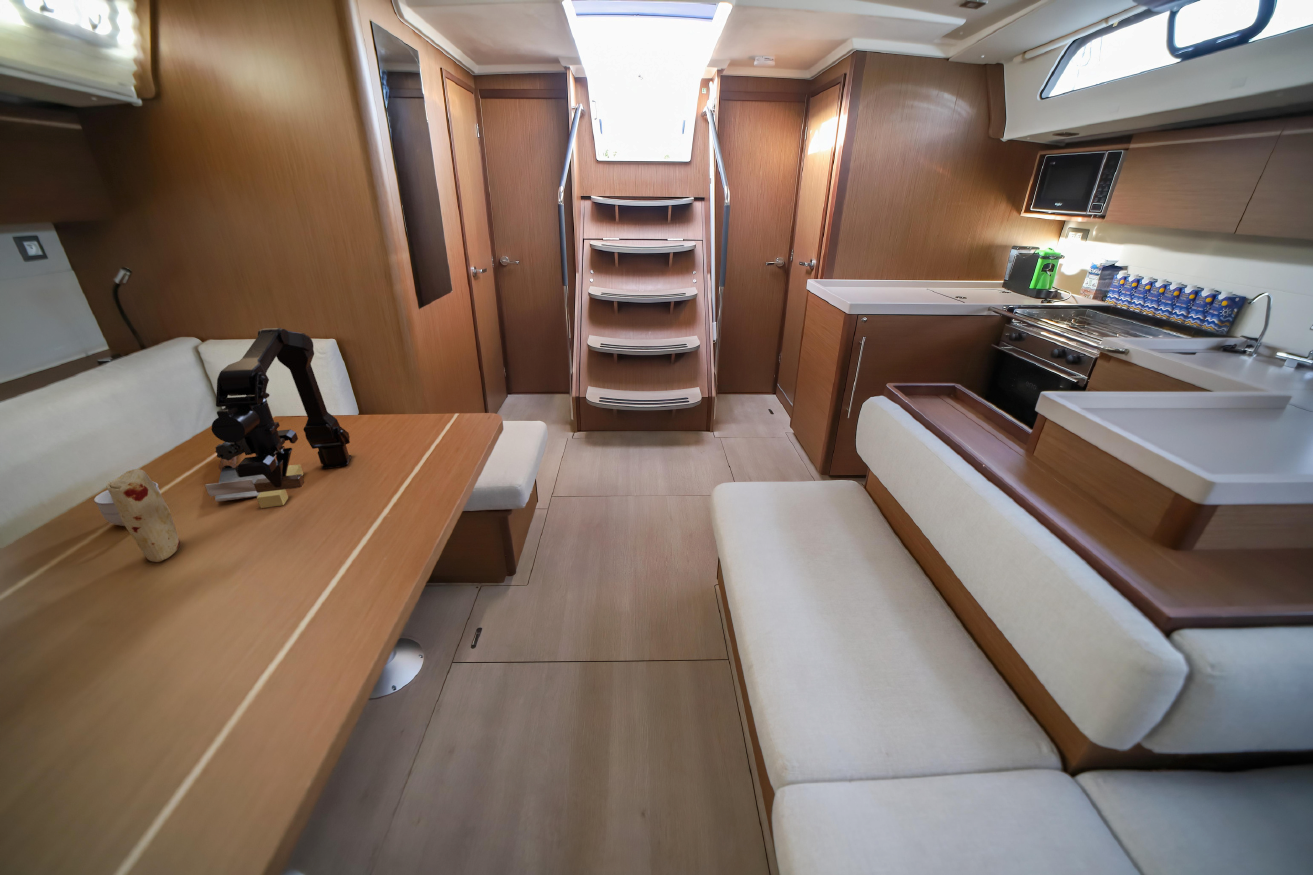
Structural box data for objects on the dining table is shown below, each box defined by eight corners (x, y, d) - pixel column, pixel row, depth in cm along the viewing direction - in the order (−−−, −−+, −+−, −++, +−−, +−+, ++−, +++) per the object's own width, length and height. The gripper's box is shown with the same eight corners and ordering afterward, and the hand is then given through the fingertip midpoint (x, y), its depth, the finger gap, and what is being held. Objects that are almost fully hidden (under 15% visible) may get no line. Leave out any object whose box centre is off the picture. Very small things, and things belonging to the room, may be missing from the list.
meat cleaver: (271, 494, 132) (266, 481, 131) (217, 508, 126) (210, 494, 125) (269, 447, 157) (265, 436, 155) (224, 457, 151) (219, 445, 149)
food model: (179, 560, 108) (138, 481, 100) (139, 570, 106) (92, 490, 97) (190, 536, 116) (152, 461, 107) (153, 545, 113) (110, 468, 104)
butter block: (303, 473, 142) (300, 464, 140) (295, 486, 136) (292, 476, 134) (283, 476, 141) (279, 466, 139) (274, 489, 135) (270, 479, 133)
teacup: (108, 518, 122) (92, 491, 118) (167, 501, 129) (154, 474, 126) (112, 543, 113) (95, 514, 110) (175, 523, 121) (161, 495, 117)
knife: (304, 482, 120) (301, 471, 119) (301, 487, 118) (297, 476, 116) (212, 493, 115) (207, 482, 113) (207, 498, 113) (202, 487, 111)
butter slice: (288, 497, 131) (284, 487, 130) (283, 505, 128) (279, 494, 126) (266, 500, 130) (262, 490, 128) (260, 508, 127) (256, 497, 125)
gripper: (233, 412, 116) (256, 470, 123) (193, 445, 100) (221, 510, 107) (288, 406, 119) (307, 464, 126) (257, 438, 103) (281, 502, 110)
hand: (280, 484), depth 117 cm, fingers closed on knife, 2 cm apart
